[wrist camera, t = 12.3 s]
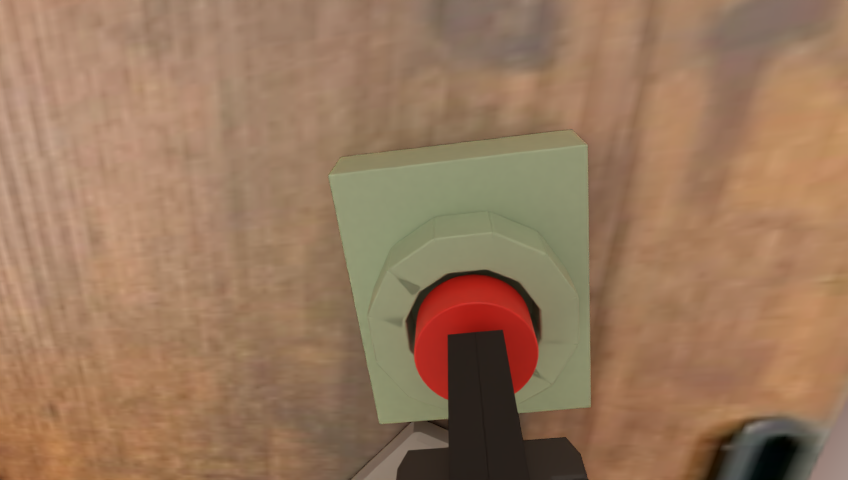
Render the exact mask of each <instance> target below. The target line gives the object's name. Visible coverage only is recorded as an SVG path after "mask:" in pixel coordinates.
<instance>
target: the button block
mask: <svg viewBox="0 0 848 480" xmlns="http://www.w3.org/2000/svg"><path fill="white" fill-rule="evenodd" d="M328 177H329V182H330V187H331V192H332V197H333V202H334V206H335V211H336V216H337V221H338V226H339V231H340V235H341V240H342V245H343V250H344V255H345V260H346V265H347V269H348V274H349V279H350V284H351V289H352V294H353V298H354V303H355V308H356V313H357V318H358V323H359V327H360V332H361V337H362V342H363V347H364V352H365V357H366V361H367V366H368V371H369V376H370V381H371V386H372V390H373V395H374V400H375V405H376V410H377V415H378V420H379V423H380V424H389V423H402V422H414V421H427V420H439V419H448V400H447V399H444V398H443V397H441V396H439V395H437V394H436V393H435V392H433V391H432V390H431V389H430V388H429V387H428V386H427V385H426V384H425V383H424V381H423V380H422V378H421V377H420V375H419V373H418V371H417V369H416V365H415V361H414V345H415V333H416V321H417V315H418V311H419V308H420V306H421V304H422V302H423V300H424V299H425V297H426V296H427V295H428V294H429V293H430V292H431V291H432V290H433V289H434V288H435V287H437V286H438V285H439V284H441V283H443V282H445V281H447V280H449V279H451V278H454V277H458V276H462V275H471V274H478V275H486V276H491V277H494V278H497V279H499V280H502V281H504V282H506V283H507V284H509V285H510V286H512V287H513V288H514V289H515V290H516V291H517V292H518V293H519V294H520V295H521V296H522V298H523V299H524V301H525V303H526V305H527V307H528V310H529V313H530V317H531V321H532V324H533V328H534V331H535V335H536V339H537V342H538V349H539V357H538V362H537V366H536V368H535V371H534V373H533V375H532V377H531V378H530V380H529V381H528V382H527V383H526V385H525V386H524V387H523V388H522V389H520V390H519V391H518V392H517V393H515V400H516V405H517V411H518V413H527V412H540V411H552V410H565V409H578V408H590V407H591V370H590V286H589V202H588V145H587V144H586V143H585V142H584V141H583V140H582V139H581V138H580V137H579V136H578V135H577V134H576V133H575V132H574V131H573V130H571V129H570V130H561V131H553V132H545V133H536V134H528V135H520V136H511V137H503V138H495V139H487V140H478V141H470V142H462V143H453V144H445V145H437V146H428V147H420V148H412V149H404V150H395V151H387V152H379V153H370V154H362V155H354V156H345V157H340V159H339V160H338V162H337V163H336V165H335V166H334V168H333V169H332V171H331V172H330V174H329V176H328Z"/></svg>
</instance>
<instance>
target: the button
mask: <svg viewBox="0 0 848 480" xmlns="http://www.w3.org/2000/svg"><path fill="white" fill-rule="evenodd" d="M492 330H503V333H504V338H505V344H506V349H507V355H508V361H509V366H510V372H511V377H512V383H513V388H514V394H515V393H517V392H518V391H519V390H520V389H522V388H523V387H524V386H525V385H526V383H527V382H528V381H529V380H530V378H531V377H532V375H533V373H534V371H535V368H536V366H537V362H538V357H539V349H538V342H537V339H536V335H535V331H534V328H533V324H532V321H531V317H530V313H529V310H528V307H527V305H526V303H525V301H524V299H523V298H522V296H521V295H520V294H519V293H518V292H517V291H516V290H515V289H514V288H513V287H512V286H510V285H509V284H507V283H506V282H504V281H502V280H499V279H497V278H494V277H491V276H486V275H478V274H471V275H462V276H458V277H454V278H451V279H449V280H447V281H445V282H443V283H441V284H439V285H438V286H437V287H435V288H434V289H433V290H432V291H431V292H430V293H429V294H428V295H427V296H426V297H425V299H424V300H423V302H422V304H421V306H420V308H419V311H418V315H417V321H416V333H415V345H414V361H415V365H416V369H417V371H418V373H419V375H420V377H421V378H422V380H423V381H424V383H425V384H426V385H427V386H428V387H429V388H430V389H431V390H432V391H433V392H435V393H436V394H437V395H439V396H441V397H443V398H444V399H447V400H448V334H459V333H470V332H481V331H492Z"/></svg>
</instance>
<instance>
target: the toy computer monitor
mask: <svg viewBox="0 0 848 480" xmlns="http://www.w3.org/2000/svg"><path fill="white" fill-rule="evenodd" d="M446 447H449V439H448V430H446V429H444V428H441V427H439V426H437V425H434V424H432V423H429V422H427V421H414V422H411V423H410V424H409V425H408V426H407V427H406V428H405V429H404V430H403V431H402V432H401V433H400V434H398V435H397V436H396V437H395V438H394V439H393V440H392V441H391V442H390V443H389V444H388V445H387V446H386V447H385V448H384V449H383V450H382V451H381V452H379V453H378V454H377V455H376V456H375V457H374V458H373V459H372V460H371V461H370V462H369V463H368V464H367V465H366V466H365V467H364V468H363V469H361V470H360V471H359V472H358V473H357V474H356V475H355V476H354V477H353V478H352V479H351V480H396V476H397V468H398V467H399V465H400V463H401V462H402V460H403V458H404V457H405V455H406V453H407V451H408V450H419V449H433V448H446Z"/></svg>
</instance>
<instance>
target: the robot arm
mask: <svg viewBox="0 0 848 480" xmlns="http://www.w3.org/2000/svg"><path fill="white" fill-rule="evenodd" d="M448 439H449V447H446V448H433V449H419V450H408V451H407V453H406V455H405V457H404V458H403V460H402V462H401V463H400V465H399V467H398V468H397V476H396V480H588V479H587V474H586V470H585V467H584V464H583V460H582V457H581V454H580V453H579V452H578V451H577V450H576V448H575V447H574V446H573V445H572V444H571V443H570V442H569V440H568V439H567V438H566V437H562V438H549V439H535V440H523V439H522V433H521V428H520V422H519V416H518V411H517V405H516V400H515V394H514V388H513V383H512V377H511V372H510V366H509V361H508V355H507V349H506V344H505V338H504V333H503V330H492V331H481V332H470V333H459V334H448Z"/></svg>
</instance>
